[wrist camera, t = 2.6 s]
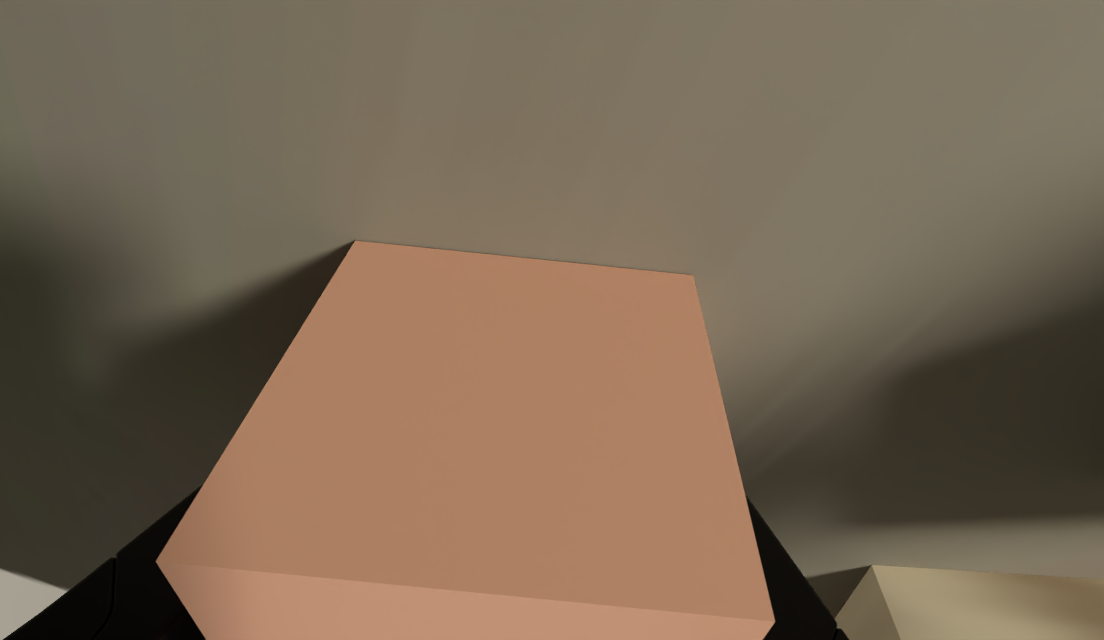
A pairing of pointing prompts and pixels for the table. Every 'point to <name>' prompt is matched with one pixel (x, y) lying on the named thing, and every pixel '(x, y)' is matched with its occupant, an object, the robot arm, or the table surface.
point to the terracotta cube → (480, 466)
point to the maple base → (971, 606)
